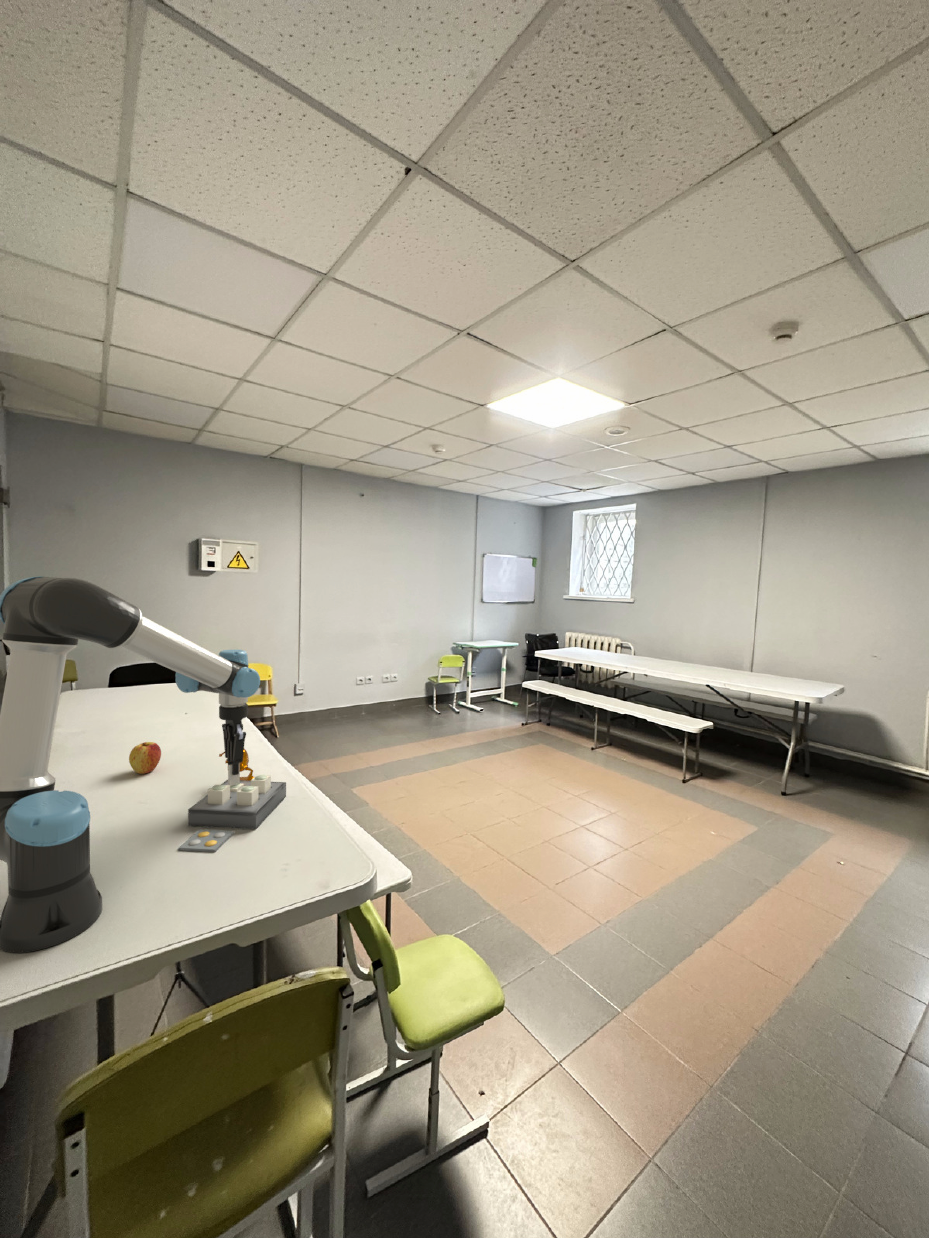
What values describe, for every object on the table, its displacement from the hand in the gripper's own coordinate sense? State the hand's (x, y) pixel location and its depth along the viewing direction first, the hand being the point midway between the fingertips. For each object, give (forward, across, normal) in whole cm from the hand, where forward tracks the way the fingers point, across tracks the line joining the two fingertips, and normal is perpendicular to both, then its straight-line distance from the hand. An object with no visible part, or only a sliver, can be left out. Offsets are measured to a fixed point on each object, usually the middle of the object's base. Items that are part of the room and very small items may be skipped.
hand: (233, 784), depth 144 cm
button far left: (+5, 0, 0) cm, 5 cm away
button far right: (+2, -6, -6) cm, 8 cm away
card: (+6, -18, +12) cm, 22 cm away
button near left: (+2, -6, +6) cm, 8 cm away
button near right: (+2, -11, 0) cm, 12 cm away
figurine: (+6, +13, -6) cm, 16 cm away
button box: (+6, -6, 0) cm, 8 cm away
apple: (+6, +42, +14) cm, 45 cm away
